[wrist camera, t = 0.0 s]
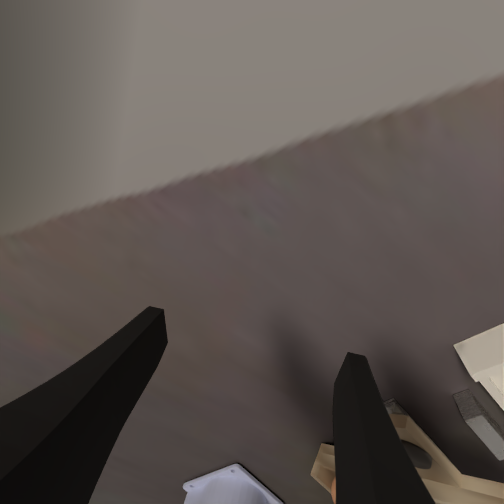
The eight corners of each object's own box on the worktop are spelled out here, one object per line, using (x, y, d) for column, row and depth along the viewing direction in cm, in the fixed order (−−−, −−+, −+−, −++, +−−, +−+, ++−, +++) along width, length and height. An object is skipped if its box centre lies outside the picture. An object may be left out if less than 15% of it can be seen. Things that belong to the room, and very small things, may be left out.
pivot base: (407, 471, 28) (423, 538, 24) (351, 414, 27) (357, 474, 22) (512, 442, 24) (555, 516, 20) (455, 373, 23) (487, 437, 18)
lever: (353, 474, 30) (344, 506, 28) (280, 403, 28) (265, 433, 26) (558, 534, 18) (564, 596, 16) (458, 420, 16) (453, 477, 14)
